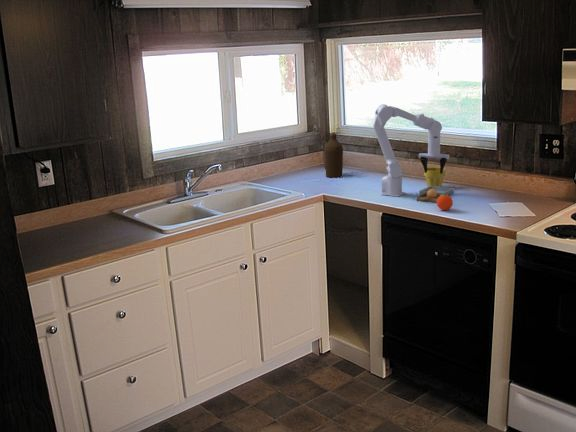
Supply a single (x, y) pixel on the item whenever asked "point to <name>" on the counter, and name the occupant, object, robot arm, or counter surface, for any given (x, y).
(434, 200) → the tray
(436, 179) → the plant pot
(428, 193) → the ball
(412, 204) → the counter surface
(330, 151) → the olive oil
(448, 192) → the dish
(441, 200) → the clementine
